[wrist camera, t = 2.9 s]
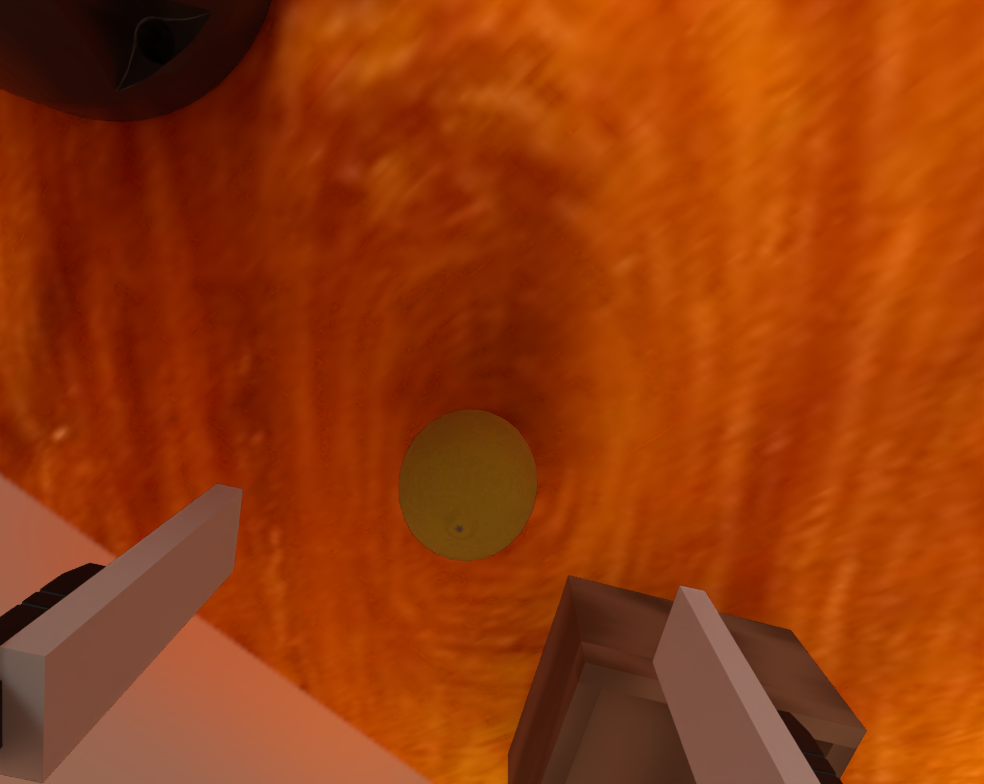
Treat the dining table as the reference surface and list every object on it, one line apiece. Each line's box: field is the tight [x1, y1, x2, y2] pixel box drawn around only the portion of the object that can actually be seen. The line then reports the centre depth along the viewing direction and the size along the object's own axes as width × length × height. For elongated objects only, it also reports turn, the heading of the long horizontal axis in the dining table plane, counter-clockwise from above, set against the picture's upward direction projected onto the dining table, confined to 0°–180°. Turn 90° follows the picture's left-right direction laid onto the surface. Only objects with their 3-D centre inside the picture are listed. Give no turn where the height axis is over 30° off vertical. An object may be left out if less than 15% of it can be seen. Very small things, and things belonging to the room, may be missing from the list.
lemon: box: [399, 409, 537, 561], centre depth 21 cm, size 6×6×8 cm
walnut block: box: [508, 576, 867, 784], centre depth 26 cm, size 12×12×6 cm
